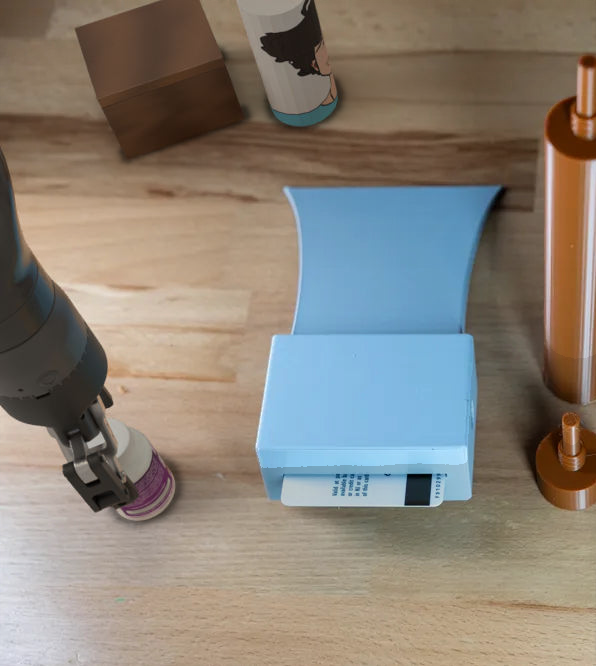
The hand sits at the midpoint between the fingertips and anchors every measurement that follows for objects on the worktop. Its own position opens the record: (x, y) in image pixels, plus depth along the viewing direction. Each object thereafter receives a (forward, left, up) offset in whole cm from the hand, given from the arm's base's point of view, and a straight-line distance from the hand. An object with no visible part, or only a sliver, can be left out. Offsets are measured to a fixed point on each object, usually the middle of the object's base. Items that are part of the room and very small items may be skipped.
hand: (112, 452), depth 90 cm
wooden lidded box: (+13, +40, -8) cm, 43 cm away
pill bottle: (0, 0, -8) cm, 8 cm away
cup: (+25, +35, -8) cm, 44 cm away
